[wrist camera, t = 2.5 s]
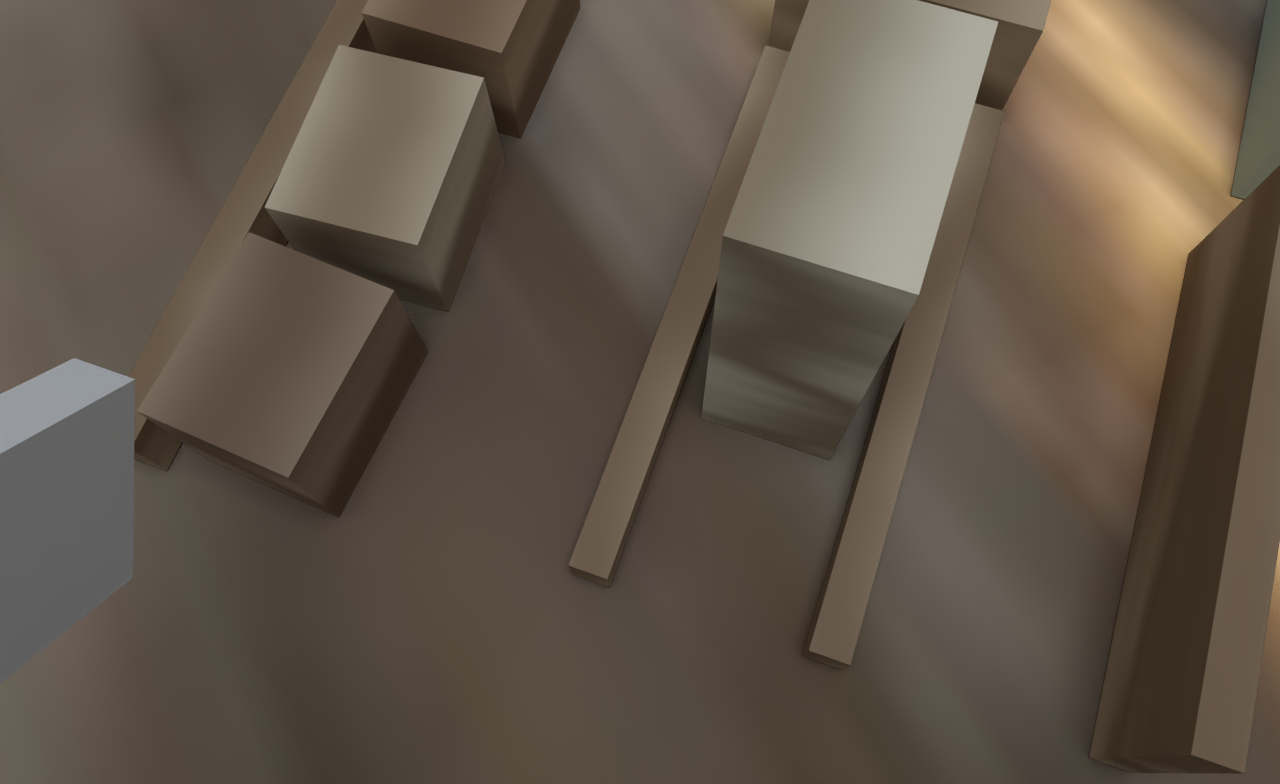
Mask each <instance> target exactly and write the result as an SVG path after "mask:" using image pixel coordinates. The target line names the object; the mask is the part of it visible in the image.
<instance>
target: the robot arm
mask: <svg viewBox="0 0 1280 784" xmlns="http://www.w3.org/2000/svg"><path fill="white" fill-rule="evenodd" d="M134 422H135V379H133V378H130V377H127V376H124V375H121V374H118V373H115V372H113V371H110V370H107V369H104V368H101V367H98V366H95V365H92V364H90V363H87V362H84V361H81V360H78V359H75V358H73V359H71V360H69V361H67V362H65V363H63V364H61V365H59V366H57V367H55V368H53V369H51V370H49V371H47V372H45V373H43V374H41V375H39V376H37V377H35V378H33V379H31V380H28V381H26V382H24V383H22V384H20V385H18V386H16V387H14V388H12V389H10V390H8V391H6V392H4V393H2V394H0V683H2V682H3V681H4V680H5V679H7V678H8V677H9V676H10V675H12V674H13V673H14V672H15V671H17V670H18V669H19V668H20V667H22V666H23V665H24V664H25V663H27V662H28V661H29V660H30V659H32V658H33V657H34V656H35V655H37V654H38V653H39V652H40V651H42V650H43V649H44V648H45V647H47V646H48V645H49V644H50V643H52V642H53V641H54V640H55V639H57V638H58V637H59V636H60V635H62V634H63V633H64V632H65V631H67V630H68V629H69V628H70V627H72V626H73V625H74V624H75V623H77V622H78V621H79V620H80V619H82V618H83V617H84V616H85V615H87V614H88V613H89V612H90V611H92V610H93V609H94V608H95V607H97V606H98V605H99V604H100V603H102V602H103V601H104V600H105V599H107V598H108V597H109V596H110V595H112V594H113V593H114V592H115V591H117V590H118V589H119V588H120V587H122V586H123V585H124V584H125V583H127V582H128V581H129V580H130V579H132V578H133V511H134Z"/></svg>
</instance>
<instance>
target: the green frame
mask: <svg viewBox="0 0 1280 784" xmlns="http://www.w3.org/2000/svg"><path fill="white" fill-rule="evenodd" d="M1279 165H1280V0H1267V4H1266V10H1265V15H1264V21H1263V26H1262V31H1261V37H1260V42H1259V47H1258V53H1257V58H1256V63H1255V69H1254V74H1253V79H1252V85H1251V90H1250V96H1249V101H1248V106H1247V112H1246V117H1245V122H1244V128H1243V133H1242V138H1241V144H1240V149H1239V154H1238V160H1237V165H1236V171H1235V176H1234V181H1233V187H1232V192H1231V196H1235V197H1238V198H1242V199H1245V198H1246V197H1247V196H1248V195H1249V194H1250V193H1252V192H1253V191H1254V190H1255V189H1256V188H1257V187H1258V186H1259V185H1260V184H1261V183H1262V182H1263V181H1264V180H1265V179H1266V178H1267V177H1268V176H1269V175H1270V174H1271V173H1272V172H1273V171H1274V170H1275V169H1276V168H1277V167H1278V166H1279Z"/></svg>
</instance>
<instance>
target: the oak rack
mask: <svg viewBox="0 0 1280 784" xmlns="http://www.w3.org/2000/svg"><path fill="white" fill-rule="evenodd" d="M919 1H922V2H926V3H930V4H934V5H938V6H941V7H945V8H949V9H953V10H956V11H960V12H964V13H968V14H971V15H975V16H979V17H983V18H987V19H990V20H994V21H998V25H997V28H996V32H995V35H994V38H993V42H992V45H991V49H990V52H989V56H988V59H987V63H986V66H985V69H984V73H983V76H982V80H981V83H980V87H979V90H978V93H977V97H976V100H975V104H974V107H973V111H972V114H971V118H970V121H969V124H968V128H967V131H966V135H965V138H964V142H963V145H962V148H961V152H960V155H959V159H958V162H957V166H956V169H955V173H954V176H953V179H952V183H951V186H950V190H949V193H948V197H947V200H946V203H945V207H944V210H943V214H942V217H941V221H940V224H939V228H938V231H937V234H936V238H935V241H934V245H933V248H932V252H931V255H930V259H929V262H928V265H927V269H926V272H925V276H924V279H923V283H922V286H921V289H920V293H919V296H918V298H917V299H916V301H915V303H914V305H913V307H912V309H911V310H910V312H909V314H908V316H907V318H906V320H905V321H904V323H903V325H902V327H901V329H900V331H899V333H898V334H897V336H896V339H895V343H894V346H893V349H892V353H891V356H890V360H889V363H888V366H887V370H886V373H885V377H884V380H883V383H882V387H881V390H880V394H879V397H878V400H877V404H876V407H875V410H874V414H873V417H872V421H871V424H870V427H869V431H868V434H867V438H866V441H865V444H864V448H863V451H862V455H861V458H860V461H859V465H858V468H857V472H856V475H855V478H854V482H853V485H852V489H851V492H850V495H849V499H848V502H847V506H846V509H845V512H844V516H843V519H842V522H841V526H840V529H839V533H838V536H837V539H836V543H835V546H834V550H833V553H832V556H831V560H830V563H829V567H828V570H827V573H826V577H825V580H824V584H823V587H822V590H821V594H820V597H819V601H818V604H817V607H816V611H815V614H814V618H813V621H812V624H811V628H810V631H809V634H808V638H807V641H806V645H805V648H804V651H803V655H802V656H804V657H807V658H810V659H812V660H815V661H818V662H821V663H824V664H827V665H829V666H832V667H835V668H838V669H841V670H843V669H845V668H846V667H848V666H850V665H851V661H852V658H853V654H854V651H855V647H856V643H857V640H858V636H859V633H860V629H861V625H862V622H863V618H864V615H865V611H866V607H867V604H868V600H869V597H870V593H871V589H872V586H873V582H874V579H875V575H876V572H877V568H878V564H879V561H880V557H881V554H882V550H883V546H884V543H885V539H886V536H887V532H888V528H889V525H890V521H891V518H892V514H893V511H894V507H895V503H896V500H897V496H898V493H899V489H900V485H901V482H902V478H903V475H904V471H905V467H906V464H907V460H908V457H909V453H910V450H911V446H912V442H913V439H914V435H915V432H916V428H917V424H918V421H919V417H920V414H921V410H922V406H923V403H924V399H925V396H926V392H927V389H928V385H929V381H930V378H931V374H932V371H933V367H934V363H935V360H936V356H937V353H938V349H939V345H940V342H941V338H942V335H943V331H944V327H945V324H946V320H947V317H948V313H949V310H950V306H951V302H952V299H953V295H954V292H955V288H956V284H957V281H958V277H959V274H960V270H961V266H962V263H963V259H964V256H965V252H966V249H967V245H968V241H969V238H970V234H971V231H972V227H973V223H974V220H975V216H976V213H977V209H978V205H979V202H980V198H981V195H982V191H983V188H984V184H985V180H986V177H987V173H988V170H989V166H990V162H991V159H992V155H993V152H994V148H995V144H996V141H997V137H998V134H999V130H1000V126H1001V123H1002V119H1003V116H1004V112H1005V111H1002V109H1003V107H1004V105H1005V103H1006V101H1007V99H1008V97H1009V96H1010V94H1011V92H1012V90H1013V88H1014V86H1015V84H1016V82H1017V80H1018V78H1019V76H1020V74H1021V72H1022V70H1023V68H1024V67H1025V65H1026V63H1027V61H1028V59H1029V57H1030V55H1031V53H1032V51H1033V49H1034V47H1035V45H1036V43H1037V41H1038V39H1039V38H1040V36H1041V34H1042V32H1043V29H1044V25H1045V22H1046V18H1047V14H1048V11H1049V7H1050V3H1051V1H1050V0H919ZM367 2H368V0H337V1H336V3H335V5H334V7H333V8H332V10H331V12H330V14H329V16H328V17H327V19H326V21H325V23H324V25H323V26H322V28H321V30H320V32H319V34H318V35H317V37H316V39H315V41H314V43H313V44H312V46H311V48H310V50H309V52H308V53H307V55H306V57H305V59H304V61H303V62H302V64H301V66H300V68H299V70H298V71H297V73H296V75H295V77H294V79H293V80H292V82H291V84H290V86H289V88H288V89H287V91H286V93H285V95H284V97H283V98H282V100H281V102H280V104H279V106H278V107H277V109H276V111H275V113H274V115H273V116H272V118H271V120H270V122H269V124H268V125H267V127H266V129H265V131H264V133H263V134H262V136H261V138H260V140H259V142H258V143H257V145H256V147H255V149H254V151H253V152H252V154H251V156H250V158H249V160H248V161H247V163H246V165H245V167H244V168H243V170H242V172H241V174H240V176H239V177H238V179H237V181H236V183H235V185H234V186H233V188H232V190H231V192H230V194H229V195H228V197H227V199H226V201H225V203H224V204H223V206H222V208H221V210H220V212H219V213H218V215H217V217H216V219H215V221H214V222H213V224H212V226H211V228H210V230H209V231H208V233H207V235H206V237H205V239H204V240H203V242H202V244H201V246H200V248H199V249H198V251H197V253H196V255H195V257H194V258H193V260H192V262H191V264H190V266H189V267H188V269H187V271H186V273H185V275H184V276H183V278H182V280H181V282H180V284H179V285H178V287H177V289H176V291H175V293H174V294H173V296H172V298H171V300H170V302H169V303H168V305H167V307H166V309H165V311H164V312H163V314H162V316H161V318H160V320H159V321H158V323H157V325H156V327H155V329H154V330H153V332H152V334H151V336H150V338H149V339H148V341H147V343H146V345H145V347H144V348H143V350H142V352H141V354H140V356H139V357H138V359H137V361H136V363H135V365H134V366H133V368H132V370H131V372H130V374H129V375H128V377H130V378H133V379H135V422H134V459H135V460H138V461H140V462H143V463H146V464H149V465H151V466H154V467H157V468H160V469H163V470H165V471H167V470H168V468H169V466H170V465H171V463H172V461H173V459H174V457H175V455H176V453H177V451H178V449H179V447H180V446H181V444H182V442H181V441H180V440H178V439H177V438H175V437H174V436H172V435H171V434H169V433H168V432H167V431H165V430H164V429H162V428H161V427H159V426H158V425H156V424H155V423H153V422H152V421H150V420H149V419H148V418H146V417H145V416H143V415H142V414H140V413H139V412H137V410H138V408H139V406H140V405H141V403H142V402H143V400H144V398H145V397H146V395H147V394H148V392H149V391H150V389H151V387H152V386H153V384H154V383H155V381H156V379H157V378H158V376H159V375H160V373H161V371H162V370H163V368H164V367H165V365H166V363H167V362H168V360H169V359H170V357H171V355H172V354H173V352H174V351H175V349H176V348H177V346H178V344H179V343H180V341H181V340H182V338H183V336H184V335H185V333H186V332H187V330H188V328H189V327H190V325H191V324H192V322H193V320H194V319H195V317H196V316H197V314H198V312H199V311H200V309H201V308H202V306H203V305H204V303H205V301H206V300H207V298H208V297H209V295H210V293H211V292H212V290H213V289H214V287H215V285H216V284H217V282H218V281H219V279H220V277H221V276H222V274H223V273H224V271H225V269H226V268H227V266H228V265H229V263H230V262H231V260H232V258H233V257H234V255H235V254H236V252H237V250H238V249H239V247H240V246H241V244H242V242H243V241H244V239H245V238H246V236H247V234H248V233H249V232H250V233H253V234H255V235H258V236H260V237H263V238H265V239H268V240H270V241H273V242H275V243H278V244H280V245H283V246H286V244H287V242H288V240H287V238H286V237H285V236H284V234H283V233H282V231H281V230H280V228H279V227H278V226H277V224H276V223H275V221H274V220H273V219H272V217H271V216H270V214H269V213H268V211H267V210H266V209H265V205H266V203H267V201H268V199H269V197H270V194H271V192H272V190H273V188H274V186H275V183H276V181H277V179H278V177H279V175H280V173H281V170H282V168H283V166H284V164H285V162H286V159H287V157H288V155H289V153H290V151H291V148H292V146H293V144H294V142H295V140H296V138H297V135H298V133H299V131H300V129H301V127H302V124H303V122H304V120H305V118H306V116H307V113H308V111H309V109H310V107H311V105H312V103H313V100H314V98H315V96H316V94H317V92H318V89H319V87H320V85H321V83H322V81H323V79H324V76H325V74H326V72H327V70H328V68H329V65H330V63H331V61H332V59H333V57H334V54H335V52H336V50H337V48H338V46H339V45H343V46H347V47H351V48H356V49H360V50H365V51H369V52H373V53H377V51H376V48H375V46H374V43H373V41H372V38H371V36H370V33H369V31H368V28H367V25H366V23H365V20H364V18H363V15H362V11H363V9H364V7H365V5H366V4H367ZM808 3H809V0H775V6H774V13H773V20H772V26H771V33H770V40H769V46H765V48H764V51H763V53H762V56H761V59H760V61H759V64H758V67H757V69H756V72H755V75H754V77H753V80H752V82H751V85H750V88H749V90H748V93H747V96H746V98H745V101H744V104H743V106H742V109H741V111H740V114H739V117H738V119H737V122H736V125H735V127H734V130H733V133H732V135H731V138H730V140H729V143H728V146H727V148H726V151H725V154H724V156H723V159H722V162H721V164H720V167H719V170H718V172H717V175H716V177H715V180H714V183H713V185H712V188H711V191H710V193H709V196H708V199H707V201H706V204H705V206H704V209H703V212H702V214H701V217H700V220H699V222H698V225H697V228H696V230H695V233H694V235H693V238H692V241H691V243H690V246H689V249H688V251H687V254H686V257H685V259H684V262H683V264H682V267H681V270H680V272H679V275H678V278H677V280H676V283H675V286H674V288H673V291H672V293H671V296H670V299H669V301H668V304H667V307H666V309H665V312H664V315H663V317H662V320H661V323H660V325H659V328H658V330H657V333H656V336H655V338H654V341H653V344H652V346H651V349H650V352H649V354H648V357H647V359H646V362H645V365H644V367H643V370H642V373H641V375H640V378H639V381H638V383H637V386H636V388H635V391H634V394H633V396H632V399H631V402H630V404H629V407H628V410H627V412H626V415H625V417H624V420H623V423H622V425H621V428H620V431H619V433H618V436H617V439H616V441H615V444H614V446H613V449H612V452H611V454H610V457H609V460H608V462H607V465H606V468H605V470H604V473H603V476H602V478H601V481H600V483H599V486H598V489H597V491H596V494H595V497H594V499H593V502H592V505H591V507H590V510H589V512H588V515H587V518H586V520H585V523H584V526H583V528H582V531H581V534H580V536H579V539H578V541H577V544H576V547H575V549H574V552H573V555H572V557H571V560H570V563H569V565H568V566H569V568H570V570H571V572H572V574H573V575H576V576H579V577H582V578H584V579H587V580H590V581H593V582H596V583H598V584H601V585H604V586H607V587H610V585H611V583H612V580H613V577H614V574H615V572H616V569H617V566H618V563H619V561H620V558H621V555H622V552H623V550H624V547H625V544H626V541H627V539H628V536H629V533H630V530H631V528H632V525H633V522H634V519H635V517H636V514H637V511H638V508H639V506H640V503H641V500H642V497H643V495H644V492H645V489H646V486H647V483H648V481H649V478H650V475H651V472H652V470H653V467H654V464H655V461H656V459H657V456H658V453H659V450H660V448H661V445H662V442H663V439H664V437H665V434H666V431H667V428H668V426H669V423H670V420H671V417H672V415H673V412H674V409H675V406H676V404H677V401H678V398H679V395H680V393H681V390H682V387H683V384H684V382H685V379H686V376H687V373H688V371H689V368H690V365H691V362H692V360H693V357H694V354H695V351H696V349H697V346H698V343H699V340H700V338H701V335H702V332H703V329H704V327H705V324H706V321H707V318H708V315H709V313H710V310H711V307H712V304H713V302H714V299H715V296H716V289H717V280H718V271H719V263H720V254H721V246H722V237H723V233H724V231H725V228H726V225H727V222H728V220H729V217H730V214H731V212H732V209H733V206H734V203H735V201H736V198H737V195H738V193H739V190H740V187H741V184H742V182H743V179H744V176H745V174H746V171H747V168H748V165H749V163H750V160H751V157H752V155H753V152H754V149H755V146H756V144H757V141H758V138H759V136H760V133H761V130H762V127H763V125H764V122H765V119H766V117H767V114H768V111H769V108H770V106H771V103H772V100H773V98H774V95H775V92H776V89H777V87H778V84H779V81H780V79H781V76H782V73H783V70H784V68H785V65H786V62H787V60H788V57H789V54H790V51H791V49H792V46H793V43H794V41H795V38H796V35H797V32H798V30H799V27H800V24H801V22H802V19H803V16H804V13H805V11H806V8H807V5H808ZM1279 541H1280V165H1279V166H1278V167H1277V168H1276V169H1275V170H1274V171H1273V172H1272V173H1271V174H1270V175H1269V176H1268V177H1267V178H1266V179H1265V180H1264V181H1263V182H1262V183H1261V184H1260V185H1259V186H1258V187H1257V188H1256V189H1255V190H1254V191H1253V192H1252V193H1250V194H1249V195H1248V196H1247V197H1246V198H1245V199H1244V200H1243V201H1242V202H1241V203H1240V204H1239V205H1238V206H1237V207H1236V208H1235V209H1234V210H1233V211H1232V212H1231V213H1230V214H1229V215H1228V216H1227V217H1226V218H1225V219H1224V220H1223V221H1222V222H1221V223H1220V224H1219V225H1218V226H1217V227H1216V228H1215V229H1214V230H1213V231H1212V232H1211V233H1210V234H1209V235H1208V236H1207V237H1206V238H1204V239H1203V240H1202V241H1201V242H1200V243H1199V244H1198V245H1197V246H1196V247H1195V248H1194V249H1193V250H1192V251H1191V252H1190V253H1189V255H1188V260H1187V265H1186V270H1185V275H1184V280H1183V285H1182V290H1181V295H1180V300H1179V306H1178V311H1177V316H1176V321H1175V326H1174V331H1173V336H1172V341H1171V346H1170V351H1169V356H1168V361H1167V366H1166V371H1165V376H1164V381H1163V386H1162V391H1161V396H1160V402H1159V407H1158V412H1157V417H1156V422H1155V427H1154V432H1153V437H1152V442H1151V447H1150V452H1149V457H1148V462H1147V467H1146V472H1145V477H1144V482H1143V487H1142V492H1141V498H1140V503H1139V508H1138V513H1137V518H1136V523H1135V528H1134V533H1133V538H1132V543H1131V548H1130V553H1129V558H1128V563H1127V568H1126V573H1125V578H1124V583H1123V588H1122V594H1121V599H1120V604H1119V609H1118V614H1117V619H1116V624H1115V629H1114V634H1113V639H1112V644H1111V649H1110V654H1109V659H1108V664H1107V669H1106V674H1105V679H1104V684H1103V690H1102V695H1101V700H1100V705H1099V710H1098V715H1097V720H1096V725H1095V730H1094V735H1093V740H1092V745H1091V750H1090V755H1089V758H1091V759H1094V760H1097V761H1100V762H1103V763H1105V764H1108V765H1111V766H1114V767H1117V768H1119V769H1122V770H1125V771H1128V772H1131V773H1245V769H1246V762H1247V755H1248V749H1249V742H1250V735H1251V729H1252V722H1253V715H1254V708H1255V702H1256V695H1257V688H1258V682H1259V675H1260V668H1261V662H1262V655H1263V648H1264V642H1265V635H1266V628H1267V622H1268V615H1269V608H1270V602H1271V595H1272V588H1273V582H1274V575H1275V568H1276V561H1277V555H1278V548H1279Z"/></svg>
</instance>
